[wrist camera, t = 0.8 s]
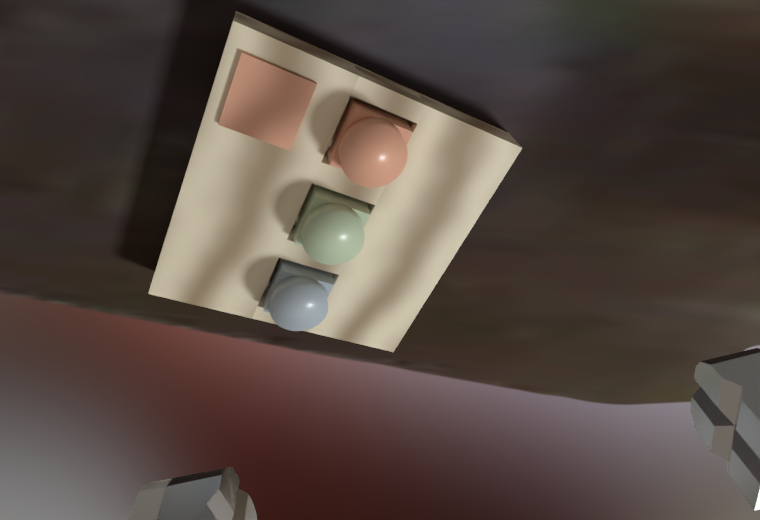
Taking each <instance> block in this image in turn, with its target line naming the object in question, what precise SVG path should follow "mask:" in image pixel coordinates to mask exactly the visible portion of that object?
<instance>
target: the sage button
mask: <svg viewBox="0 0 760 520" xmlns="http://www.w3.org/2000/svg"><path fill="white" fill-rule="evenodd" d="M369 216H370V212H369V208H368V205H367V202H364V201H361V200H359V199H356V198H353V197H350V196H347V195H344V194H341V193H338V192H336V191H333V190H330V189H327V188H324V187H321V186H318V185H315V184H314V185H313V187H312V189H311V191H310V194H309V196H308V198H307V200H306V203H305V205H304V207H303V209H302V212H301V214H300V216H299V218H298V221H297V223H296V225H295V227H294V230H293V235H294V244H295V245H299V246H302V247H303V248H304V250H305V252H306V253H307V254H308V256H309V257H311V258H312V259H313V260H315V261H317V262H319V263H322V264H326V265H338V264H342V263H345V262H347V261H349V260H351V259H353V258H354V257H355V256H356V255H357V254H358V253H359V252H360V250H361V249H362V247H363V244H364V240H365V234H364V230H363V228H364V226H365V224H366V222H367V220H368V218H369Z"/></svg>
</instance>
